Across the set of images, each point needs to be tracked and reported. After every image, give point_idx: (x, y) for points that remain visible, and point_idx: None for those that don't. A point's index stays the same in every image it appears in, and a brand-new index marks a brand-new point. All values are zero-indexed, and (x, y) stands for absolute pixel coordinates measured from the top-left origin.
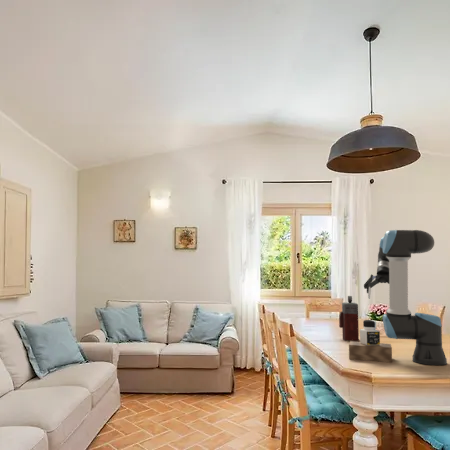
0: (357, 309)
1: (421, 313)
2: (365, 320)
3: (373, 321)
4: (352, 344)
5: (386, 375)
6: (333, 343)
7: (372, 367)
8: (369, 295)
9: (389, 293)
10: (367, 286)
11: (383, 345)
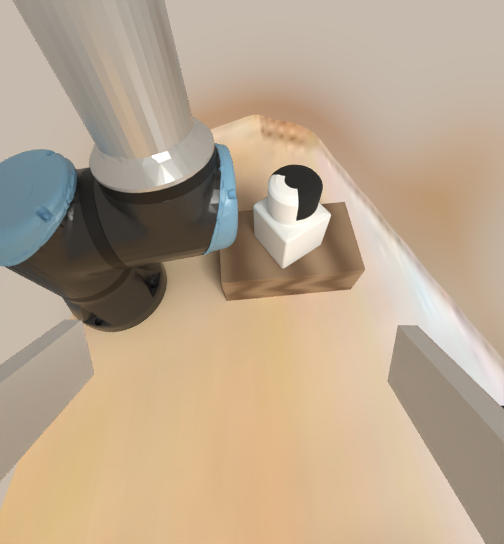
0: None
1: (30, 198)
2: (311, 172)
3: (276, 171)
4: (336, 211)
5: (234, 127)
6: None
7: (264, 170)
8: (398, 328)
9: (167, 15)
10: None
11: (243, 238)
